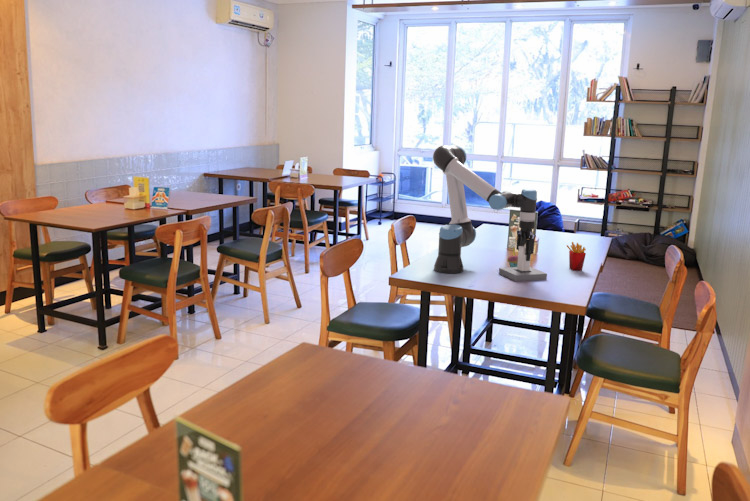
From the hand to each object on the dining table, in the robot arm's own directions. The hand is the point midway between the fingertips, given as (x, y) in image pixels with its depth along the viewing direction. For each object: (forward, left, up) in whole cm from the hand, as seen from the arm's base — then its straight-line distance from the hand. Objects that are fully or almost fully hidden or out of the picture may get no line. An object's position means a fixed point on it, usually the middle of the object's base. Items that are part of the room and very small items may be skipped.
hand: (523, 265), depth 325 cm
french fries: (+37, +7, -6) cm, 38 cm away
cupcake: (+6, +17, -6) cm, 19 cm away
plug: (0, 0, -2) cm, 2 cm away
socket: (0, 0, -6) cm, 6 cm away
